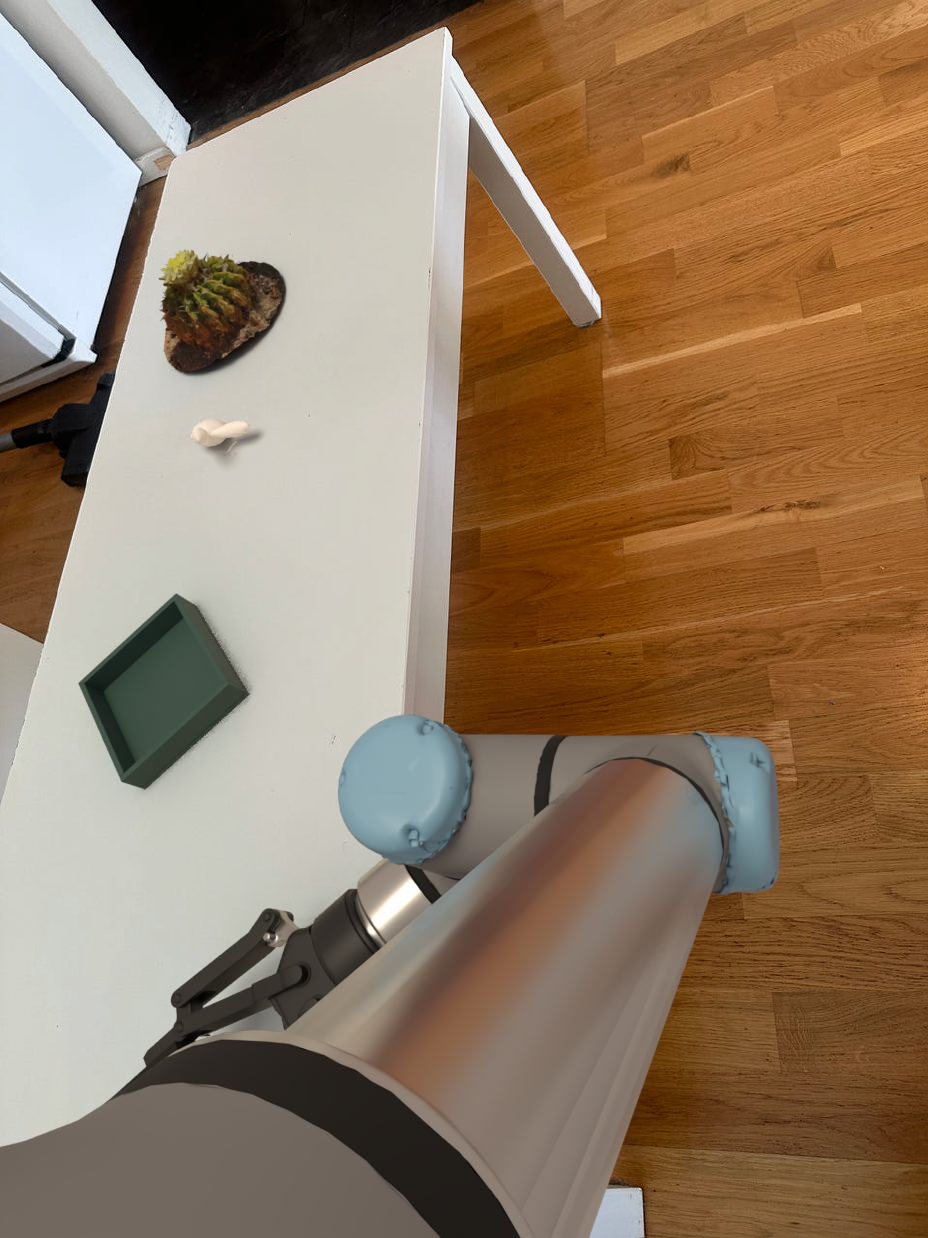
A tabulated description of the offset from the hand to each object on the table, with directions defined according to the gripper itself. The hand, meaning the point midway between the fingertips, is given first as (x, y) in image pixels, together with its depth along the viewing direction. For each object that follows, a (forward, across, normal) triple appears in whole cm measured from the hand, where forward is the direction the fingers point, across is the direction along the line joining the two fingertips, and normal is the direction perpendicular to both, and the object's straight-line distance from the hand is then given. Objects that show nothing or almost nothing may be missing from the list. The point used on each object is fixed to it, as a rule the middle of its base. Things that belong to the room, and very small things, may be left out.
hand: (137, 1152), depth 57 cm
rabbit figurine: (-33, +56, -7) cm, 65 cm away
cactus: (-42, +74, -7) cm, 85 cm away
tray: (-14, +35, -6) cm, 38 cm away
